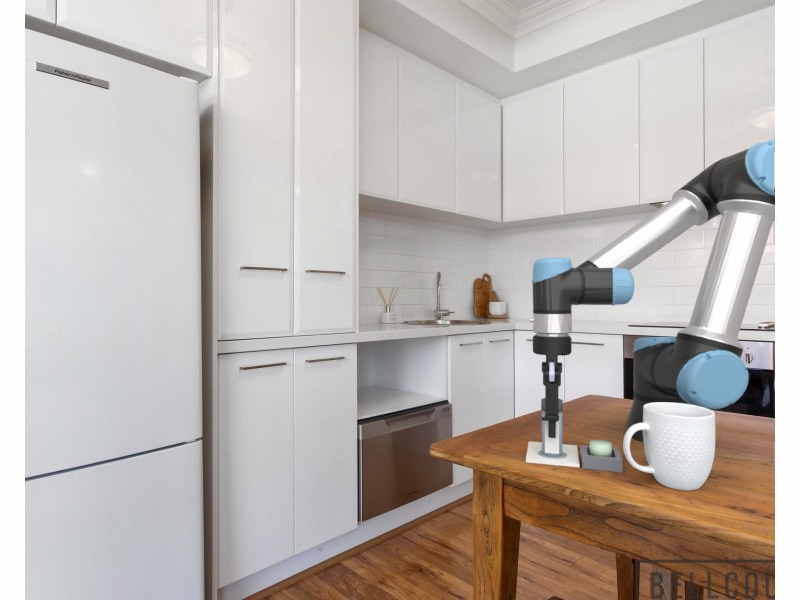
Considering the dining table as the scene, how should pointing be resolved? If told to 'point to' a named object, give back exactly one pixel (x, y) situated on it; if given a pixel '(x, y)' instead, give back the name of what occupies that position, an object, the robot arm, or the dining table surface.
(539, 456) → the white flat plate
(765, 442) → the dining table surface
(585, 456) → the button housing
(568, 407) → the dining table surface
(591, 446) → the button
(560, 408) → the capped blue-grey cylinder
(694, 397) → the robot arm
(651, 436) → the mug
